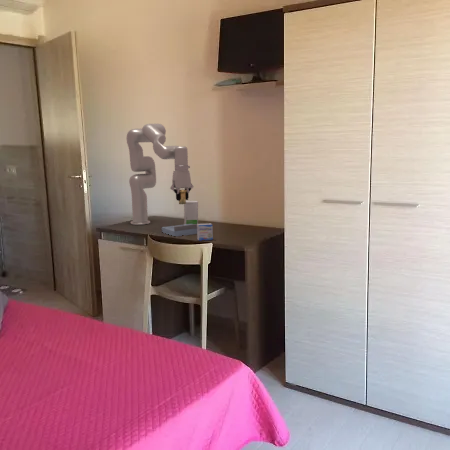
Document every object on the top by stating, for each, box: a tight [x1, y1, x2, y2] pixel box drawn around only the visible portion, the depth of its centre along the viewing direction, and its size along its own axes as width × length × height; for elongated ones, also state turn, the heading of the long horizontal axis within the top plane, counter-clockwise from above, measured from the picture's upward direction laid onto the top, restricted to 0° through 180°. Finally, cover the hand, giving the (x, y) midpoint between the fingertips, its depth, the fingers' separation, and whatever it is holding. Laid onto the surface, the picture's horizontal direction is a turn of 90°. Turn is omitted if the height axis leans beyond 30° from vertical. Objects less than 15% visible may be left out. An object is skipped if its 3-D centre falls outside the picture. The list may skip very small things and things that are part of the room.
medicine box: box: [196, 222, 214, 242], centre depth 280 cm, size 8×4×9 cm, turn 104°
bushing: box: [178, 189, 187, 205], centre depth 298 cm, size 5×5×8 cm
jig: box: [161, 222, 204, 237], centre depth 301 cm, size 16×20×5 cm
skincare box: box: [183, 200, 199, 225], centre depth 321 cm, size 8×7×16 cm
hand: (182, 199), depth 298 cm, fingers closed on bushing, 4 cm apart
